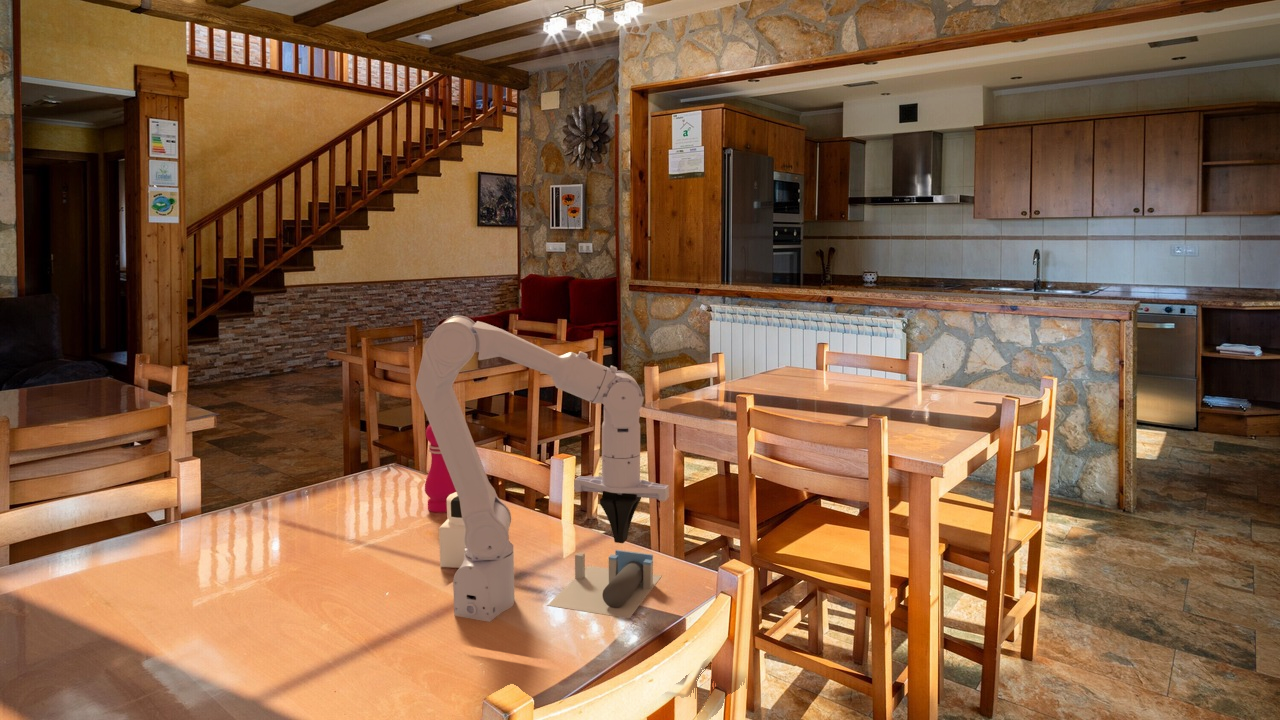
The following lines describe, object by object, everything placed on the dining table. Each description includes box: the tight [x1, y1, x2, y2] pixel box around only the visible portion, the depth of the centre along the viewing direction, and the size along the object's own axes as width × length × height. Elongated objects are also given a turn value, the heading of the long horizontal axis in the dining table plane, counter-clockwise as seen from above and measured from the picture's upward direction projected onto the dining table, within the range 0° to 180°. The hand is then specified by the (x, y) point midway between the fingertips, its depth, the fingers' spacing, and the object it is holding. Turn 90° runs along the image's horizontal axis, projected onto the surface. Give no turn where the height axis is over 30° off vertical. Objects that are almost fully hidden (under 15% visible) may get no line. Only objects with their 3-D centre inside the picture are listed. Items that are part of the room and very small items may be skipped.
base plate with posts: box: [546, 549, 663, 619], centre depth 128 cm, size 16×13×6 cm
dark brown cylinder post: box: [603, 561, 643, 608], centre depth 127 cm, size 10×4×4 cm, turn 161°
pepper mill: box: [424, 424, 456, 514], centre depth 169 cm, size 7×7×20 cm
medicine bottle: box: [438, 492, 466, 569], centre depth 142 cm, size 7×7×12 cm
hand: (620, 540), depth 125 cm, fingers closed
